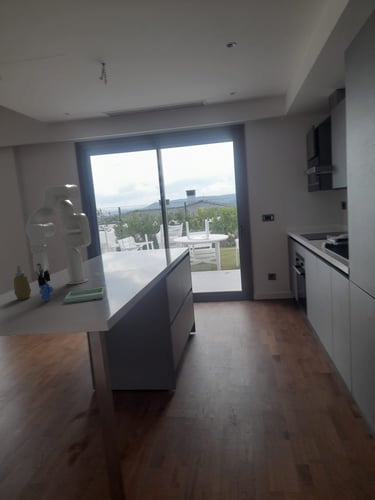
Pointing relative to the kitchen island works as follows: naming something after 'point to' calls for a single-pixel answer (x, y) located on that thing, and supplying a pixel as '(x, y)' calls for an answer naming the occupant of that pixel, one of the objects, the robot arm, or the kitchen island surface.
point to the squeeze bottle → (21, 285)
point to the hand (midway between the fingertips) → (44, 283)
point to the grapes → (45, 291)
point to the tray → (85, 295)
